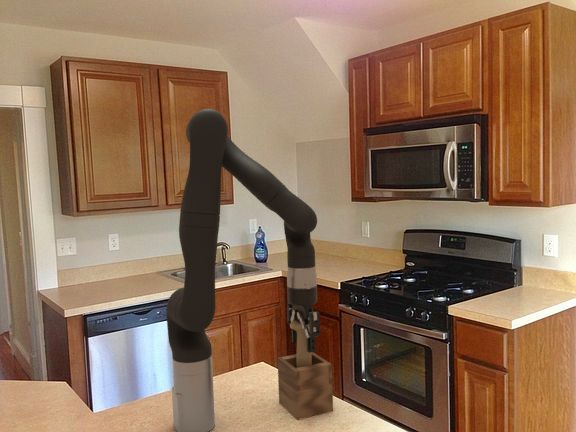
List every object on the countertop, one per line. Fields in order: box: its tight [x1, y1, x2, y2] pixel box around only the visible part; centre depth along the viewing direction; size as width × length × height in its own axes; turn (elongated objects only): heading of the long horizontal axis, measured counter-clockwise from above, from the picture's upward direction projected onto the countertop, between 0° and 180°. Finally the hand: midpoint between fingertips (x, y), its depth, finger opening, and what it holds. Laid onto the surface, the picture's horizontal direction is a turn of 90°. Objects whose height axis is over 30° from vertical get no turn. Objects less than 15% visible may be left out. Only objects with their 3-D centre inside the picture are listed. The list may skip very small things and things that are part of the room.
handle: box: [290, 320, 312, 368], centre depth 129 cm, size 5×6×15 cm
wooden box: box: [277, 352, 334, 420], centre depth 130 cm, size 10×11×12 cm
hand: (303, 347), depth 129 cm, fingers open, 8 cm apart
